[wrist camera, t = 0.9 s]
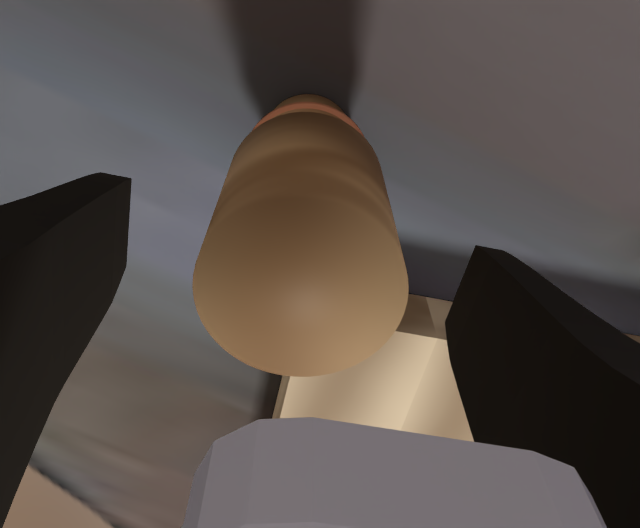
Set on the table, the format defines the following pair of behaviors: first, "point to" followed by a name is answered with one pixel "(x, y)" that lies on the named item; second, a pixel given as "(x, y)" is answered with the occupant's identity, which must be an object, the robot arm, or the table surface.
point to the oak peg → (302, 247)
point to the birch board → (391, 382)
